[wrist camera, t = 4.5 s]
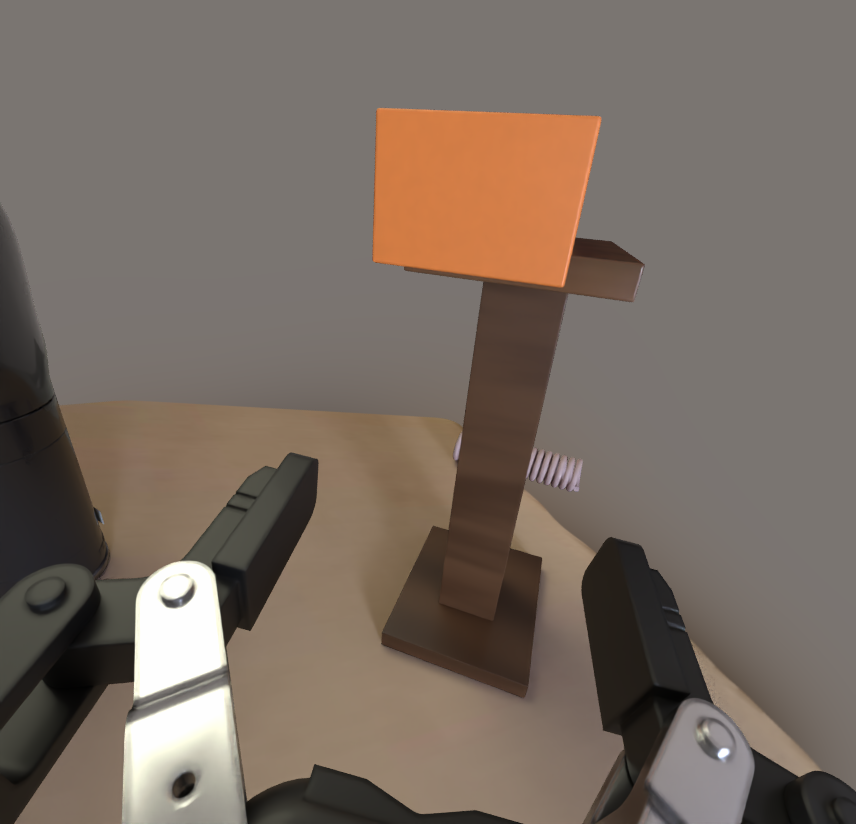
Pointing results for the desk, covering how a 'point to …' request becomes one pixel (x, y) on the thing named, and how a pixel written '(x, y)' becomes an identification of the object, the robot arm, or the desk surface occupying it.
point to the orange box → (481, 191)
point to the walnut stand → (497, 480)
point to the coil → (547, 468)
